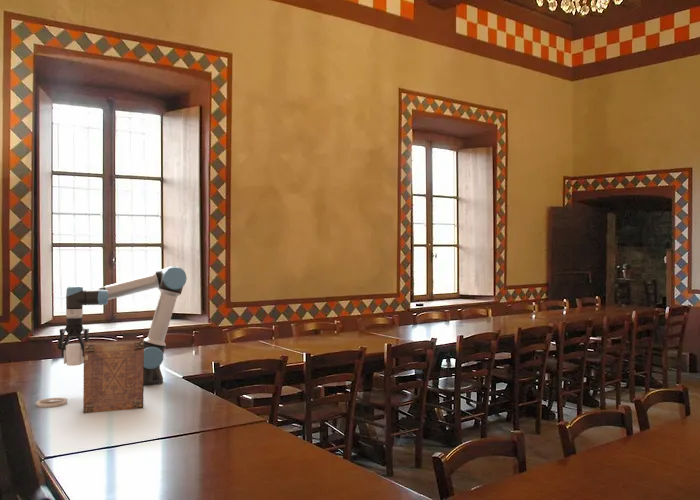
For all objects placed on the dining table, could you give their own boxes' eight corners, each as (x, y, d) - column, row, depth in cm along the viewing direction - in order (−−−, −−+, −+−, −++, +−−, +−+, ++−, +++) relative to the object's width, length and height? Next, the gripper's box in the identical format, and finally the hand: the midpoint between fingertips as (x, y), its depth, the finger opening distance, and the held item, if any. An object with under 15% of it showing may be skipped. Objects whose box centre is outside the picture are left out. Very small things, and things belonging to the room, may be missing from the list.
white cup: (85, 363, 318) (85, 343, 318) (77, 366, 310) (77, 345, 310) (70, 363, 319) (71, 343, 319) (62, 365, 311) (62, 345, 311)
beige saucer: (71, 400, 300) (71, 397, 300) (60, 407, 287) (60, 403, 287) (43, 400, 299) (43, 397, 299) (31, 407, 286) (31, 404, 286)
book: (82, 413, 277) (83, 344, 277) (83, 408, 285) (83, 342, 285) (143, 408, 286) (144, 342, 286) (142, 403, 294) (142, 339, 294)
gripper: (50, 318, 310) (49, 364, 310) (92, 318, 311) (92, 364, 311) (56, 316, 318) (56, 361, 318) (97, 316, 319) (97, 361, 319)
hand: (74, 363), depth 314 cm, fingers closed on white cup, 7 cm apart
